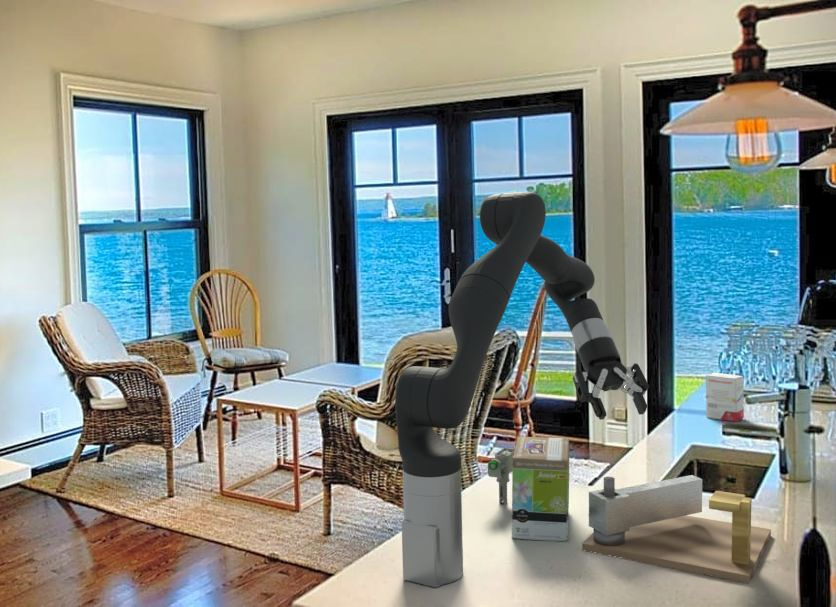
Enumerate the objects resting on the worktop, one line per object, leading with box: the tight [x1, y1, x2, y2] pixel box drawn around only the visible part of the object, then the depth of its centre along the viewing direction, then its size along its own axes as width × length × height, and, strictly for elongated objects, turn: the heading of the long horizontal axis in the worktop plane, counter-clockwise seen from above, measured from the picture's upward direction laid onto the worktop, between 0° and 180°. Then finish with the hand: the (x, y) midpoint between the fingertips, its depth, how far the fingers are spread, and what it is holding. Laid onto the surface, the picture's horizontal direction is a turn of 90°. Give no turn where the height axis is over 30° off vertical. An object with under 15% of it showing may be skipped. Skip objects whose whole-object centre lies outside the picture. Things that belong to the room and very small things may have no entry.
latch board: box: [581, 476, 772, 584], centre depth 143 cm, size 21×26×12 cm
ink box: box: [705, 372, 745, 423], centre depth 225 cm, size 9×5×12 cm, turn 44°
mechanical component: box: [487, 447, 515, 505], centre depth 164 cm, size 3×10×10 cm, turn 152°
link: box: [588, 474, 703, 535], centre depth 145 cm, size 21×5×6 cm, turn 114°
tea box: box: [511, 436, 570, 542], centre depth 152 cm, size 15×10×15 cm
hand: (623, 415), depth 162 cm, fingers open, 8 cm apart
